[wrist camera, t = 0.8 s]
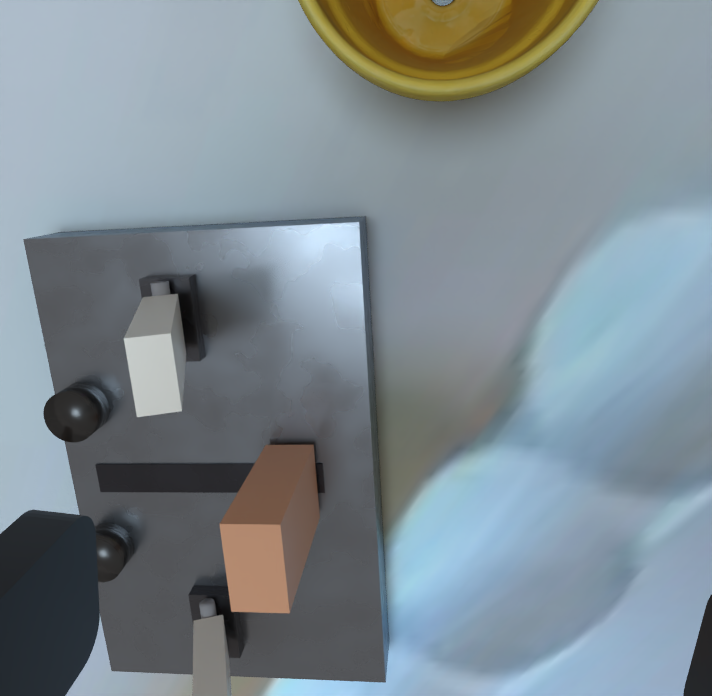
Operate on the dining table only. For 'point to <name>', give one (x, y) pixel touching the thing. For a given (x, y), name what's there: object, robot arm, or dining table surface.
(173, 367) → the lever
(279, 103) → the dining table surface
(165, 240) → the panel
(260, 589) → the slider knob
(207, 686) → the lever
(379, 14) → the plant pot
